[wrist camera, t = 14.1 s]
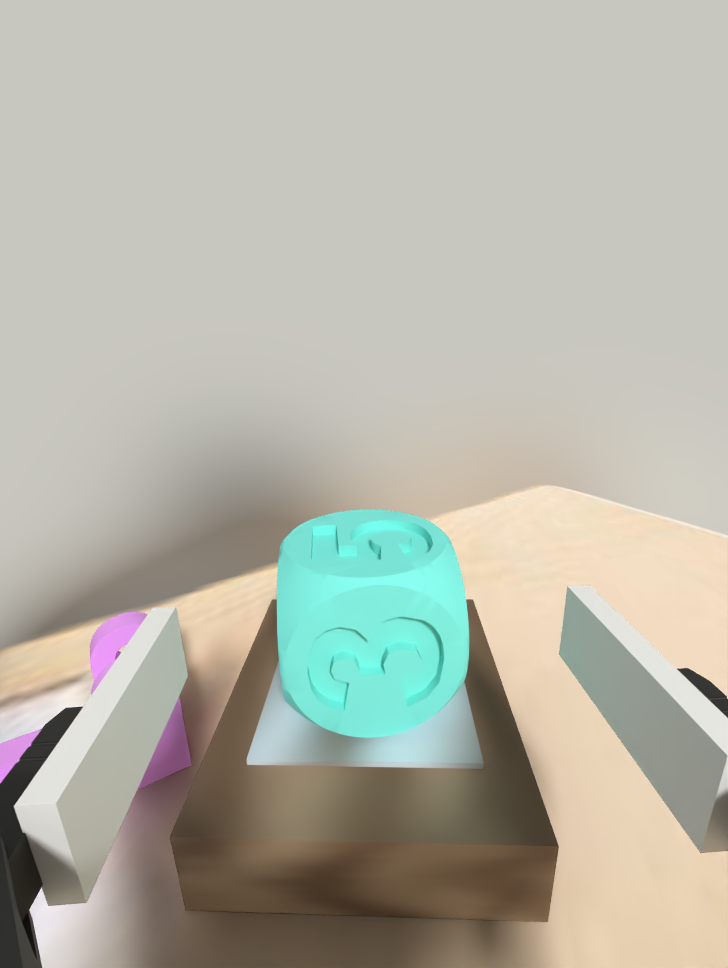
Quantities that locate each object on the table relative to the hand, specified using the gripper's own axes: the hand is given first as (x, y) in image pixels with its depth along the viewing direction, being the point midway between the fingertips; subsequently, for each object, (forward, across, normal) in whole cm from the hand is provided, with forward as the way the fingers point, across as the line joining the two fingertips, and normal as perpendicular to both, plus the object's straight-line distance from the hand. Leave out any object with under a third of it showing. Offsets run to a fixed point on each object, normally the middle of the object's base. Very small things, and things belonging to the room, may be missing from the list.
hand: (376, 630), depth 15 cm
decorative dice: (+7, 0, -8) cm, 10 cm away
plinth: (+7, 0, -12) cm, 14 cm away
